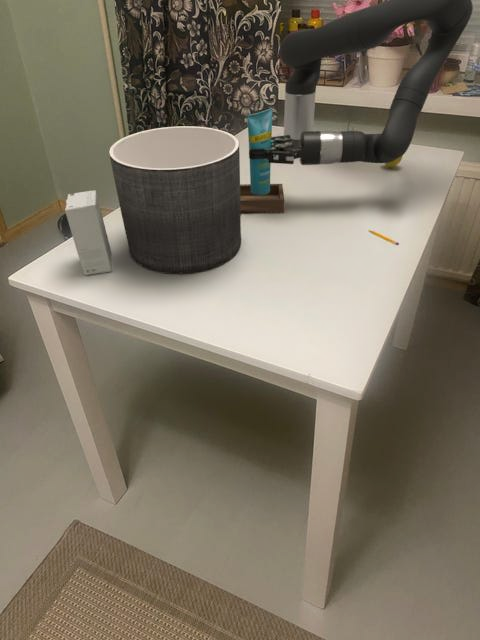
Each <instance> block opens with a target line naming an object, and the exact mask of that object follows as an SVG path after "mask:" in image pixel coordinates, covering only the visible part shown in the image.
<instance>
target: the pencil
mask: <svg viewBox="0 0 480 640" xmlns="http://www.w3.org/2000/svg"><path fill="white" fill-rule="evenodd" d="M368 232H369V233H371V234H373V235H374V236H376V237H378V238H380V239H383V240H385V241H386V242H389V243H391V244H393V245H395V246H399V244H400V243H399V242H397V241H396V240H393V239H392V238H390V237H388V236H385V235H383V234H381V233H379V232H377V231H375V230H370V229H369V230H368Z"/></svg>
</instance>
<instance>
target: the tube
mask: <svg viewBox="0 0 480 640" xmlns="http://www.w3.org/2000/svg"><path fill="white" fill-rule="evenodd" d="M246 118H247V119H246V120H247V121H246V122H247V132H248V135H247V136H248V151H249V150H250V149H263V148H265V149H266V148H271V137H273V136H272V131H273V107H272V108H269V109H266V110H263V111H260V112H257V113H253V114H247V117H246ZM271 164H272V163H269V162H268V160H265V159H250V158H249V172H250V173H249V175H250V177H249V178H250V180H249V181H250V183H249V184H251V193H252V194H255V195H266V194H268V193H269V192H270V184H271V166H272V165H271Z"/></svg>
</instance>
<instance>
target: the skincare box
mask: <svg viewBox="0 0 480 640" xmlns="http://www.w3.org/2000/svg"><path fill="white" fill-rule="evenodd" d="M65 202H66V205H65V209H64V212H65V215H66V219H67V222H68V225H69V229H70V232H71V235H72V240H73V243H74V245H75V248H76V252H77V255H78V259H79V262H80V265H81V269H82V272H83V275H84V276H89V275H94V274H103V273H104V274H106V273H111V272H112V271H113V269H112V256H113V255H112V254H113V253H112V248H111V246H110V241H109V238H108V234H107V229H106V225H105V222H104V218H103V214H102V210H101V207H100V203H99V198H98V194H97V189H96V190H95V189H94V190H87V191H80V192H74V193H69V194H67V199H66V200H65Z"/></svg>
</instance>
